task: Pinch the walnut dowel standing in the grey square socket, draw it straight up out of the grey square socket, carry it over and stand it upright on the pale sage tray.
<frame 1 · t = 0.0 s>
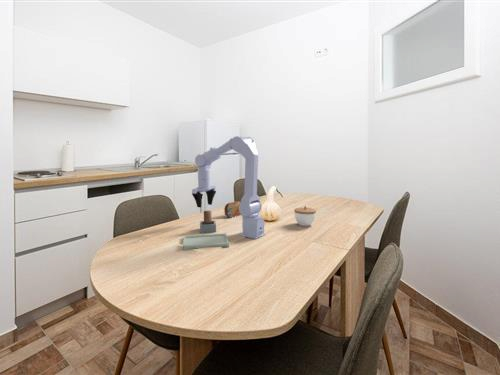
hand: (204, 205, 143), 10 cm above the table, tool pointing down, fingers open, 7 cm apart
dowel: (207, 230, 134), point 1 cm above the table, touching grey square socket
tray: (205, 243, 118), on the table
grey square socket: (208, 231, 134), on the table
tin: (234, 216, 164), on the table
lidded jar: (304, 224, 146), on the table
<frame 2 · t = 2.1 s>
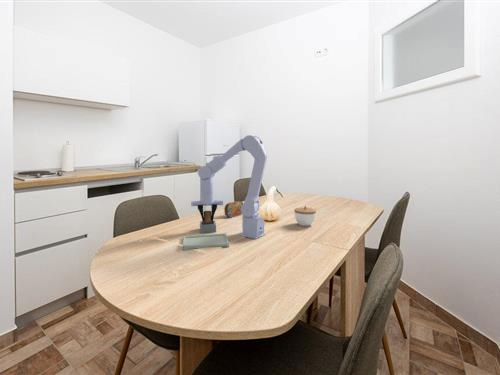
hand: (207, 220, 134), 5 cm above the table, tool pointing down, fingers closed on dowel, 4 cm apart
dowel: (207, 230, 134), point 1 cm above the table, touching grey square socket, gripper
everything else where it was.
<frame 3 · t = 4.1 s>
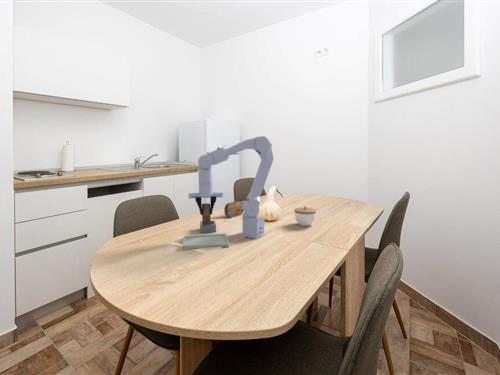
hand: (206, 214, 124), 10 cm above the table, tool pointing down, fingers closed on dowel, 4 cm apart
dowel: (206, 224, 125), point 6 cm above the table, touching gripper
everything else where it was.
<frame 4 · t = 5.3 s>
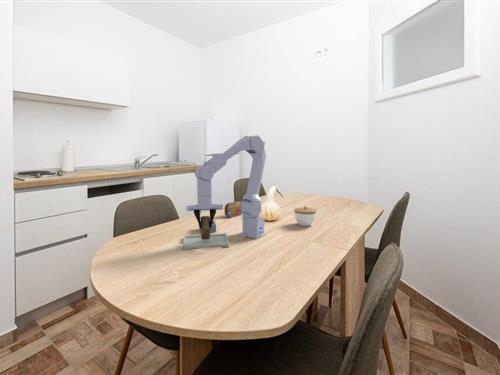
hand: (205, 227, 117), 7 cm above the table, tool pointing down, fingers closed on dowel, 4 cm apart
dowel: (205, 238, 118), point 2 cm above the table, touching gripper
everything else where it was.
when the fingers open (6 cm above the table, at t = 6.1 s): dowel stays where it is, resting on tray.
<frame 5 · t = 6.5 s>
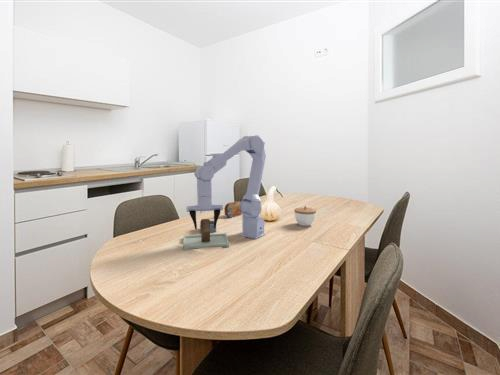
hand: (205, 228, 117), 6 cm above the table, tool pointing down, fingers open, 7 cm apart
dowel: (205, 241, 118), point 1 cm above the table, touching tray
everything else where it was.
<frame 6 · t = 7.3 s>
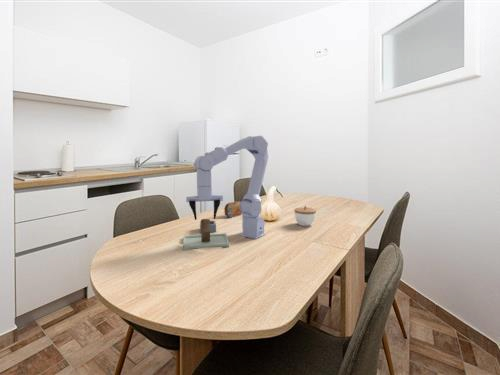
hand: (205, 218, 117), 10 cm above the table, tool pointing down, fingers open, 7 cm apart
nothing on the table moved.
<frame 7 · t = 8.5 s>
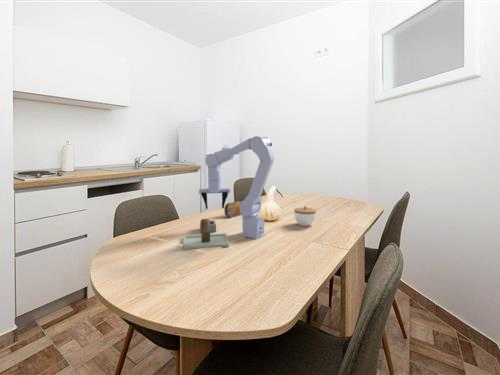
hand: (214, 208, 136), 10 cm above the table, tool pointing down, fingers open, 7 cm apart
nothing on the table moved.
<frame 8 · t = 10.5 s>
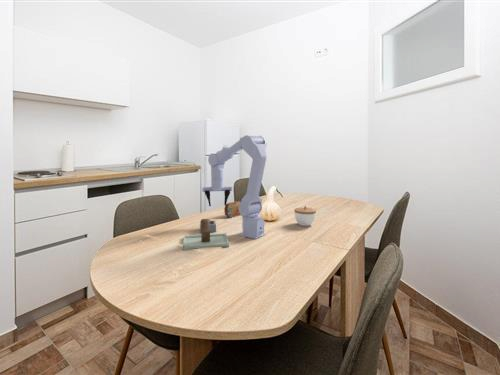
hand: (217, 205, 142), 10 cm above the table, tool pointing down, fingers open, 7 cm apart
nothing on the table moved.
at the end: dowel 0.1 cm off-centre on the tray, point 0.8 cm above the tray's base; dowel tilted 0°; the gripper is holding nothing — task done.
